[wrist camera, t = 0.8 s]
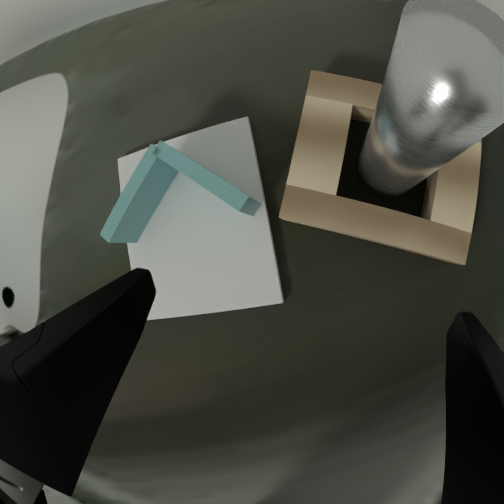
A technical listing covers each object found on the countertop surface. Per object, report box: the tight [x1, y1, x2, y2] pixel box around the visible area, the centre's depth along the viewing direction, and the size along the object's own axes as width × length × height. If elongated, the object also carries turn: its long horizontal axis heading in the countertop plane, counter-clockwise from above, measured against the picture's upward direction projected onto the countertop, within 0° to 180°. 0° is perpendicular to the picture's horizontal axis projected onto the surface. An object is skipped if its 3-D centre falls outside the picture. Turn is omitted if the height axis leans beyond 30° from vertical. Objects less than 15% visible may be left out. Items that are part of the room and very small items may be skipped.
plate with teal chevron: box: [100, 116, 284, 320], centre depth 21 cm, size 13×11×4 cm
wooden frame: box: [279, 70, 482, 265], centre depth 19 cm, size 10×12×2 cm
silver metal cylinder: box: [357, 0, 504, 198], centre depth 12 cm, size 4×4×15 cm
